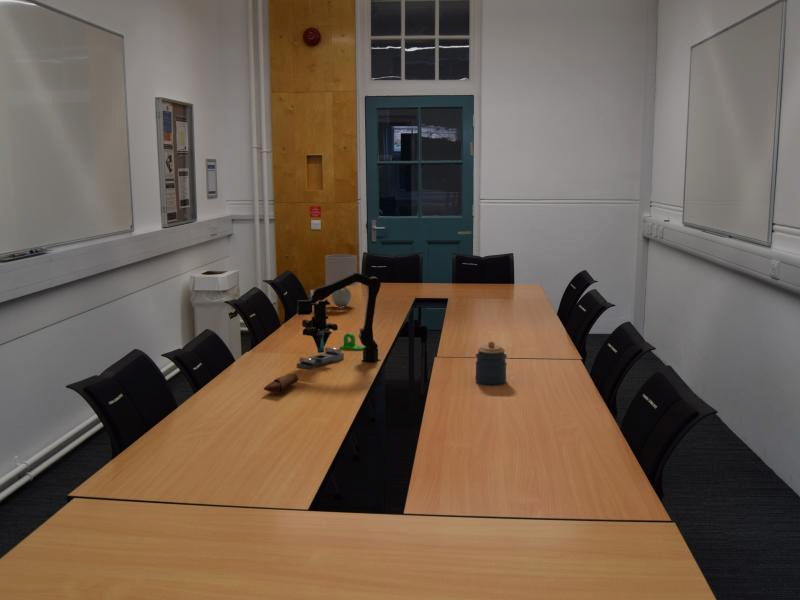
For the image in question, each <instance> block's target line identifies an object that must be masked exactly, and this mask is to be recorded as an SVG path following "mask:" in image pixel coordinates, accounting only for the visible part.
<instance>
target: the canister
mask: <svg viewBox="0 0 800 600" xmlns="http://www.w3.org/2000/svg"><path fill="white" fill-rule="evenodd" d="M487 343H488V344H487V345H485V344H484V345H481V346H480V347H478V348H477V353H476V354H475V357H476V361H475V377H474V378H475V379H474V380H475V383H476V384H478V385H482V386H489V387H490V386H491V387H494V386H495V387H496V386H502V385H505V384H506V382H507V364H508V363H507V362H506V359H507V356H508V355H507V354H506V353H505V352H506V350H505V348H503V347H502V346H501V345H495V342H494V341H489V342H487Z"/></svg>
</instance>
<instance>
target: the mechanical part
mask: <svg viewBox="0 0 800 600" xmlns="http://www.w3.org/2000/svg"><path fill="white" fill-rule="evenodd" d="M349 339H350V341H349ZM363 348H365V346H364V345H358V344H356V336H355V335H354V334H353V333H350V332H349V333H345V334H344V336H343V345H340V346H339V349H340V350H345V351H347V350H348V351H355V352H357V351H358V352H360V351H363Z"/></svg>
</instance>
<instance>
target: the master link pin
mask: <svg viewBox="0 0 800 600" xmlns="http://www.w3.org/2000/svg"><path fill="white" fill-rule="evenodd" d="M320 334H322V339H321V344H320V348H319V349H318V348H317V347H316V348H317V350H316V351H317V353H319V354H322V353H325V346H324V335H325V333H324V332H320Z"/></svg>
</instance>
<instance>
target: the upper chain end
mask: <svg viewBox="0 0 800 600" xmlns="http://www.w3.org/2000/svg"><path fill="white" fill-rule="evenodd" d="M344 355H345V354H344V352H342V349H340V348H335V347H329V346H327V347H324V352H323V353H319V354H316V355H312V356H309V357H307V358H309V359H315V360H316V362H321V363H322V362H326V361H329V360H333V363H336V362H338V361H342V360H344V359H345V358H344V357H345V356H344Z"/></svg>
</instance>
